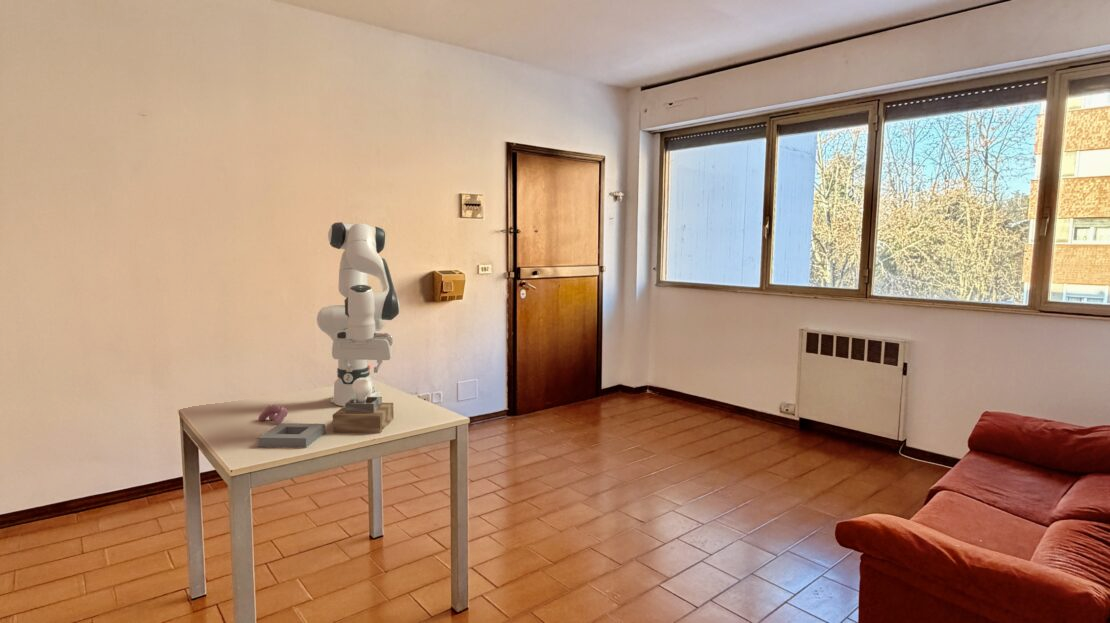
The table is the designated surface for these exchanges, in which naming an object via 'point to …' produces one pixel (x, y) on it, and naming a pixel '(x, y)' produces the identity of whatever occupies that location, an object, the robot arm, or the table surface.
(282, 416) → the video game controller
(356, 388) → the lightbulb
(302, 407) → the table surface
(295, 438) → the low socket block
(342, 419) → the raised socket stand
